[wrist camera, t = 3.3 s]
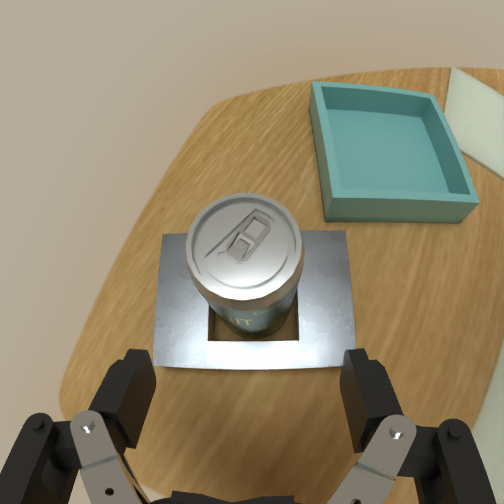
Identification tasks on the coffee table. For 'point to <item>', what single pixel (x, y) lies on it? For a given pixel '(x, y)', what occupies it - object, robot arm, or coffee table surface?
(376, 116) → the tray
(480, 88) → the coffee table surface
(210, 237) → the beer can
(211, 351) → the gray rectangular block
